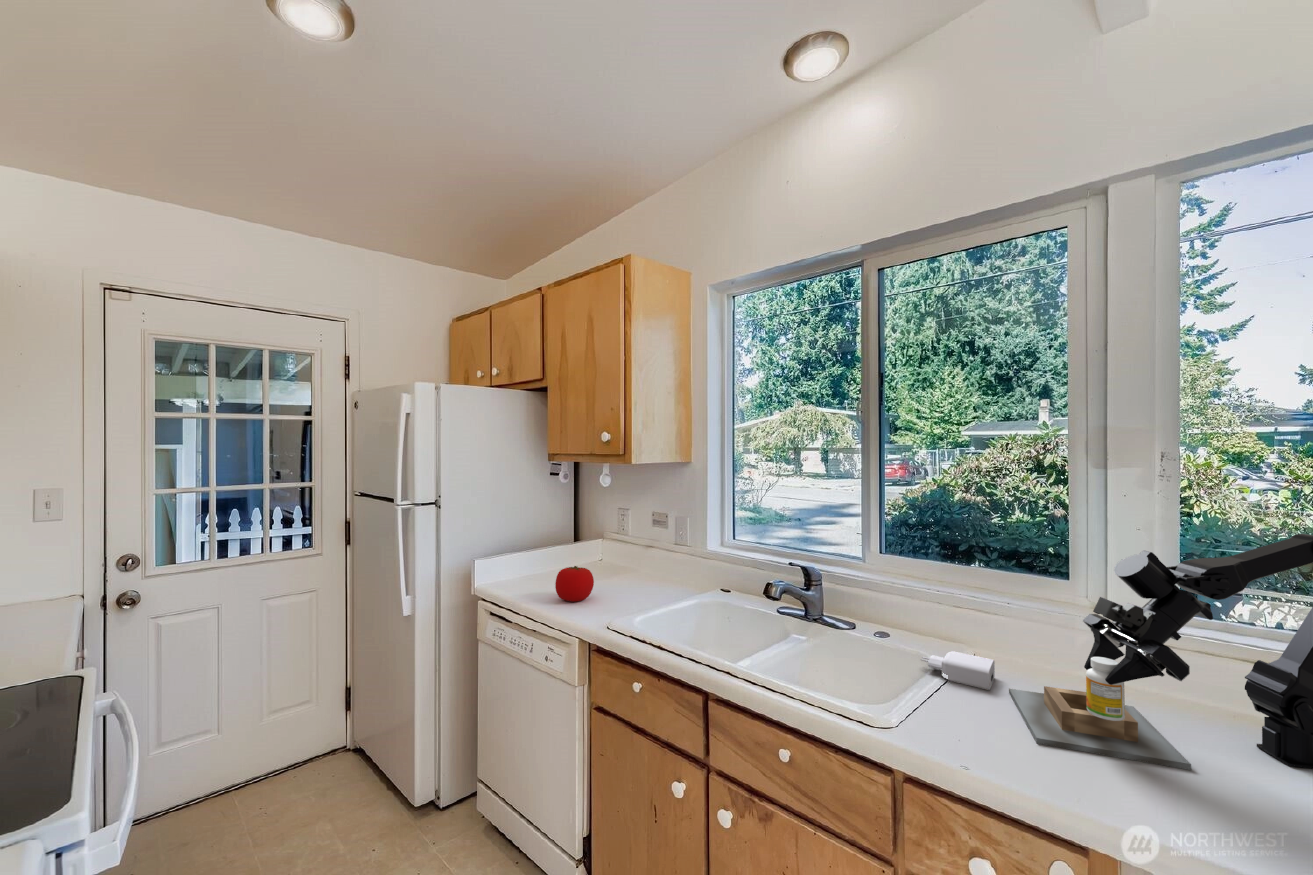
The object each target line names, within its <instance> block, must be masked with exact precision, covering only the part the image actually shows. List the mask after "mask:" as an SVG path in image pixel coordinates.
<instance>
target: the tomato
mask: <svg viewBox="0 0 1313 875" xmlns="http://www.w3.org/2000/svg"><path fill="white" fill-rule="evenodd" d="M594 584H595V580H594V576H593V572H591V570H590V569H589V568H587V567H578V565H574V566H569V567H568V566H567V567H565V568H562V569H560V570H559V572H558V573H557V575H556V577H555V584H554V585H555V586H554V587H555V588H554V589H555V591H556V594H557V596H558V598H560V599H561V600H562V601H567V602H571V603H572V602H573V603H574V602H580V601H581V602H582V601H584V600H586V599H587V598H588V597H589V596H590V595H591V594H592V592H593V588H594Z"/></svg>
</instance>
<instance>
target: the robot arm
mask: <svg viewBox="0 0 1313 875" xmlns="http://www.w3.org/2000/svg"><path fill="white" fill-rule="evenodd" d="M1310 564H1313V534H1306V533H1297V534H1294V535H1291V536H1290V537H1289V538H1287V539H1282V540H1280V541H1277V542H1273V543H1270V544H1266V545H1263V546H1259V547H1257V548H1253V549H1250V550H1247V551H1244V552H1239V553H1237V554H1233V555H1230V556H1224V557H1201V558H1200V557H1199V558H1193V559H1186V560H1183V561H1181V562H1178V563H1177V565H1174V566H1166V565H1165V564H1164V563H1163V562H1162V561H1161V560H1160V559H1159V558H1158V556H1157V554H1154V552H1151V551H1148V550H1141V551H1140V553H1138V554H1133V555H1130V556H1126V557H1125V558H1123V559H1120V560H1119V561H1118V562H1117V563H1116V564H1115V566H1114V568H1113V572H1114V574H1115V575H1116V576H1117V577H1118V578H1119V579H1120V580H1121V581H1123V582H1124V583H1125V585H1127V586H1128V587H1129V588H1130V589H1131V590H1132V591H1133V592H1134V593H1135V594H1136V595H1137V596H1138V597H1140V598H1141V599H1146V600H1148V599H1149V601H1147V602H1146V603H1145V604H1144V605H1143V606H1142V607H1141V606H1140V605H1139V606H1138V605H1135V604H1133V603H1129V602H1127V603H1126V604H1124V605H1121V604H1119V603H1117V602H1114V601H1112V600H1110V599H1108V598H1105V597H1102V596H1099V597H1098V600H1097V603H1096V604H1095V606H1094V608H1093V610H1092V613H1089V614H1087V616H1086V617H1084V618H1083V619H1082V622H1083V623H1084V624H1085V625H1086V626H1087V627H1088V628H1089V629H1090V631H1091V633H1092V635H1093V638H1094V642H1093V644H1092V647H1091V650H1090V652H1089V655H1088V656H1087V659H1086V661H1085V663H1084V665H1083V667H1084V669H1086V671H1087V670H1088V669H1091V668H1092V667H1091V658H1092V657H1104V658H1109V659H1112V660H1115V661H1116V660H1118V659H1119V658H1121V657H1123V659H1121V661H1119V662H1118V663H1119V664H1118V665H1117V666H1116V667H1115V668H1114V669H1113V670H1112V671H1111V672H1110V673H1109V675H1108V676H1107V677H1106V679H1105V681H1106V682H1107V683H1108V684H1110V685H1113V684H1117V683H1122V682H1124V683H1125V682H1130V681H1133V680H1134V681H1135V680H1139V679H1144V678H1151V677H1152V678H1153V677H1158V676H1159V677H1161V678H1162V677H1164V676H1165V675H1166V674H1167V675H1168V676H1169V677H1170V678H1173V679H1176V680H1177V681H1179V682H1183V681H1184V680H1185V679H1186V678H1187V677H1188V676H1189V675H1190V672H1191V671H1190V665H1189V664H1188V663H1187V662H1186V661H1185V660H1183V659H1182V657H1180V656H1179V655H1178V654H1177V653H1176V652H1175V651H1174V650H1173V649H1172V648H1171V647H1170V646H1168V645H1165V644H1166V643H1167V642H1168V641H1169V640H1170V639H1172V640H1174V641H1179V640H1180V639H1181V638H1182V636H1181V635H1180V634H1179V633H1178V632H1179V631H1181V629H1183V627H1184V626H1186V625H1187V624H1188V623H1189V622H1190V621H1191V620H1192V619H1193V618H1194V617H1196V616H1198V617H1201V618H1203V619H1205V620H1206V619H1207V620H1209V621H1211V620H1214V615H1213V611H1212V609H1211V606H1212V604H1211V603H1209V602H1206V601H1202V600H1199V599H1198V598H1197V597H1196V596H1194V594H1196V595H1198V596H1202V597H1205V598H1209V599H1212V600H1216V601H1220V600H1226V599H1229V598H1230V597H1232V596H1235V595H1236V594H1238V593H1241V592H1242V591H1244V590H1245V589H1246V587H1247V586H1248V584H1250V583H1251V582H1253V581H1255V580H1259V579H1263V578H1266V577H1270V576H1272V575H1276V574H1279V573H1283V572H1286V571H1290V570H1293V569H1296V568H1300V567H1303V566H1307V565H1310ZM1180 588H1181V589H1180ZM1192 593H1193V594H1192ZM1124 646H1125V652H1123V651H1122V650H1121V649H1119V648H1123V647H1124ZM1252 666H1253V667H1252V669H1251V670H1250V672H1249V673H1248V674H1247V675H1245V676H1244V679H1246V682H1245V685H1244V690H1245V691H1246V694H1247V697H1248V698H1249V700H1251V703H1252V704H1253V707H1254V710H1255V711H1256V712H1258V713H1260V714H1261V713H1262V714H1263V715H1265V716H1264V717H1263V718H1264V720H1263V721H1264V725H1262V727H1261V728H1262V729H1261V743H1256V748H1259V750H1261V751H1263V752H1265V753H1267V754H1268V755H1269V756H1272V757H1273V758H1275V759H1276V760H1278V761H1280V762H1282V763H1284V764H1285V765H1286V766H1288V767H1293V768H1306V769H1313V606H1312V607H1311V608H1310V610H1309V611H1308V613H1307V615H1306V616H1305V617H1304V619H1303V621H1302V623H1301V624H1300V626H1299V627H1298V629H1297V631H1296V632H1295V634H1294V635H1293V637H1292V638H1291V640H1290V641H1289V643H1288V644H1287V646H1286V648H1285V649H1284V651H1283V652H1282V654H1281V655H1280V657H1279V658H1278V659H1276V660H1273V661H1271V662H1266V661H1264V660H1261V659H1259V660H1258V659H1257V661H1256V662H1254V663H1253V665H1252ZM1163 671H1165V673H1166V674H1165V673H1164V672H1163Z"/></svg>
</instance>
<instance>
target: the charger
mask: <svg viewBox="0 0 1313 875" xmlns="http://www.w3.org/2000/svg"><path fill="white" fill-rule="evenodd" d="M919 661H921V662H926V663H927V667H929V668H931V669H936V670H939V669H942V670H941V673H942V672H943V673H944V674H946V675H948V680H947V681H949V682H954V683H958V684H961V685H966V686H970V687H973V688H977V689H978V688H979V689H982V690H987V691H990V690H991V688H992V686H993V683H994V680H995V673H996V672H995V663H996V661H995V659H992V658H986V657H982V656H978V655H972V654H968V653H964V652H960V651H959V652H958V651H954V650H951V651H949V652H946V654H945V656H944V657H943V656H938V655H933V654H931V655H930V656H929V657H926V656H921V658H919Z"/></svg>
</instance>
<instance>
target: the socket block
mask: <svg viewBox="0 0 1313 875" xmlns="http://www.w3.org/2000/svg"><path fill="white" fill-rule="evenodd" d="M1008 694H1009V696H1010V698H1011V699H1012V701H1013V703H1014V706H1015V707H1016V709H1017V711H1018V712H1019V714H1020V715H1021V717H1022V720H1023V721H1024V723H1025V725H1026V727H1027V729H1028V730H1029V732H1030V734H1031V736H1032V738H1033V739H1034V741H1035V743H1036V744H1037V745H1038V744H1039V745H1045V746H1050V747H1055V748H1056V747H1057V748H1061V749H1066V750H1074V751H1078V752H1083V753H1084V752H1085V753H1090V754H1091V753H1092V754H1097V755H1100V756H1101V755H1103V756H1108V757H1113V758H1114V757H1115V758H1118V759H1125V760H1130V761H1136V762H1143V763H1148V764H1154V765H1161V766H1166V767H1171V768H1177V769H1183V770H1189V771H1191V770H1192V764H1191V763H1190V761H1189V760H1188V759H1187V758H1186V757H1185V756H1183V755H1182V753H1180V751H1179V750H1177V748H1175V746H1174V745H1173V744H1171V742H1170V741H1169V740H1168V739H1166V737H1164V735H1163V734H1162V733H1160V731H1158V730H1157V728H1155V726H1153V724H1152V723H1151V722H1149V720H1148V719H1147V718H1145V716H1144V715H1143V714H1141V712H1139V710H1138V709H1137V708H1136V707H1135V706H1133V705H1125V718H1124V719H1123V720H1121V721H1111V720H1106V719H1102V718H1099V717H1096V716H1094V715H1092V714H1091V713H1089V712H1088V710H1087V702H1086V691H1081V690H1073V689H1067V688H1060V687H1053V686H1045V685H1043V693H1042V692H1036V691H1029V690H1023V689H1015V688H1008Z"/></svg>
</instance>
